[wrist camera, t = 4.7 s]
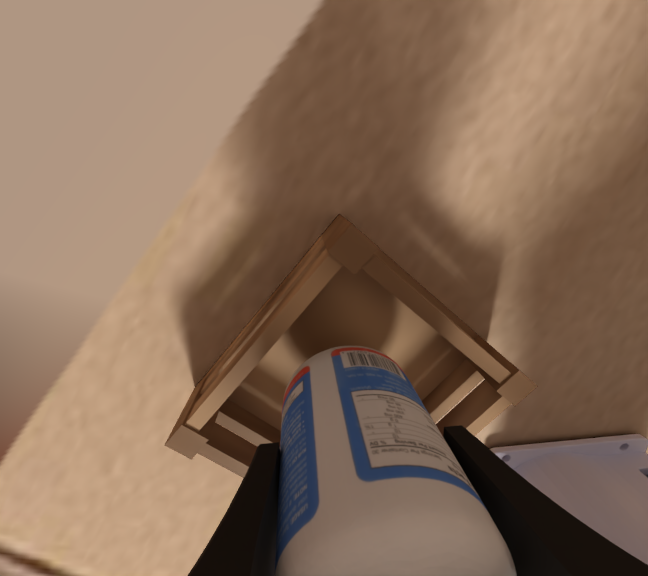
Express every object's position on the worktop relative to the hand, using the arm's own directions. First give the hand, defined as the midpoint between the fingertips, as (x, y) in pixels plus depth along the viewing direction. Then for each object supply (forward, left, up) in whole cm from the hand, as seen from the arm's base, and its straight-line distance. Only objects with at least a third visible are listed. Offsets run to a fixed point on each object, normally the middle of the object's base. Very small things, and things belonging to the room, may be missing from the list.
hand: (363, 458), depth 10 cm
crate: (0, 0, -6) cm, 6 cm away
